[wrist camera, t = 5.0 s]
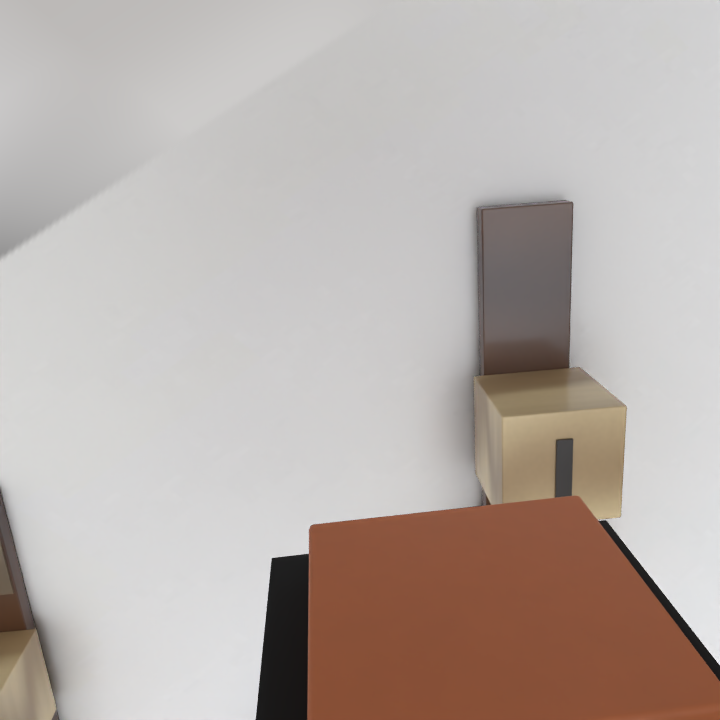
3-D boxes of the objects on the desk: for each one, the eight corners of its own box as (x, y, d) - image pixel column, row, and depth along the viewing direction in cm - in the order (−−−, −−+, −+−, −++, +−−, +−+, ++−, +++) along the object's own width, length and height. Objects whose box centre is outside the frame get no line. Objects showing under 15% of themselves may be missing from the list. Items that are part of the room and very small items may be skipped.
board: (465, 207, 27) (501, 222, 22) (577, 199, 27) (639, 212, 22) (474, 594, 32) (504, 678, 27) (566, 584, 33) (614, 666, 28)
